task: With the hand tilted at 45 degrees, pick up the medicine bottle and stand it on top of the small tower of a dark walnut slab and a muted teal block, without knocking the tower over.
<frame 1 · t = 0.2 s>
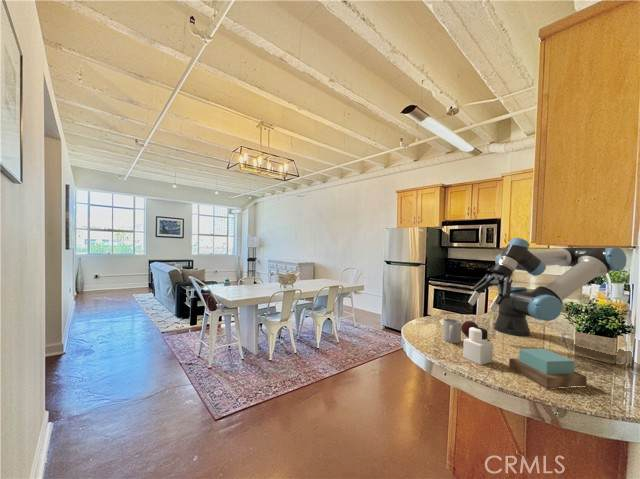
hand: (480, 306, 123), 16 cm above the worktop, tool tilted 35°, fingers open, 13 cm apart
tower top block: (545, 366, 91), point 3 cm above the worktop, touching tower base slab
tower base slab: (545, 379, 91), on the worktop, touching tower top block
cup: (451, 342, 122), on the worktop
dark red textured ball: (469, 336, 131), on the worktop
medicine bottle: (477, 360, 103), on the worktop
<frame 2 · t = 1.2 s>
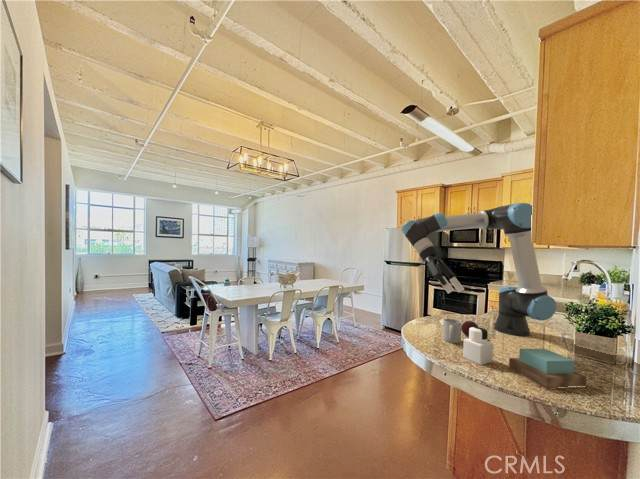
hand: (456, 291, 111), 24 cm above the worktop, tool tilted 40°, fingers open, 13 cm apart
nothing on the worktop moved.
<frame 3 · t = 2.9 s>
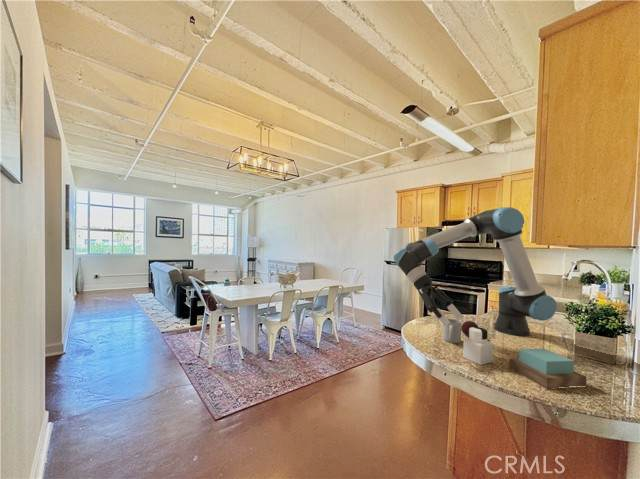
hand: (454, 321, 109), 13 cm above the worktop, tool tilted 45°, fingers open, 13 cm apart
nothing on the worktop moved.
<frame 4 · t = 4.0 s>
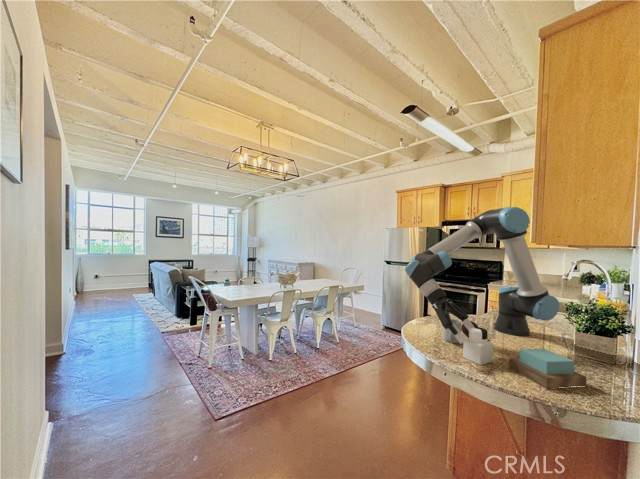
hand: (470, 338, 105), 8 cm above the worktop, tool tilted 45°, fingers open, 13 cm apart
nothing on the worktop moved.
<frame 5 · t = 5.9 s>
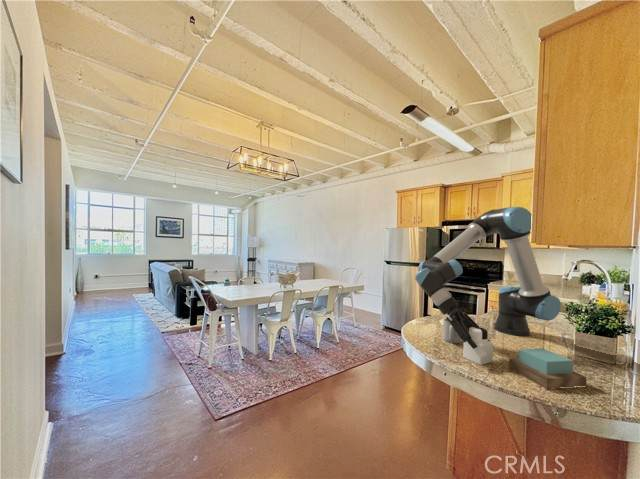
hand: (487, 352, 101), 4 cm above the worktop, tool tilted 45°, fingers closed on medicine bottle, 9 cm apart
medicine bottle: (477, 360, 103), on the worktop, touching gripper
everything else where it was.
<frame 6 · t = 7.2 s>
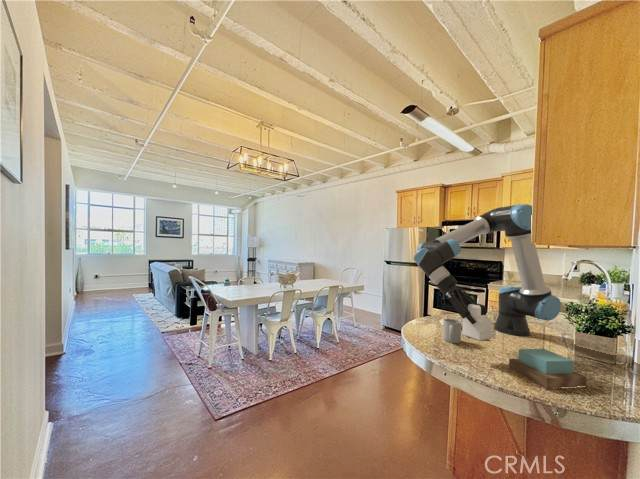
hand: (486, 328, 101), 13 cm above the worktop, tool tilted 45°, fingers closed on medicine bottle, 9 cm apart
medicine bottle: (476, 336, 103), point 9 cm above the worktop, touching gripper
everything else where it was.
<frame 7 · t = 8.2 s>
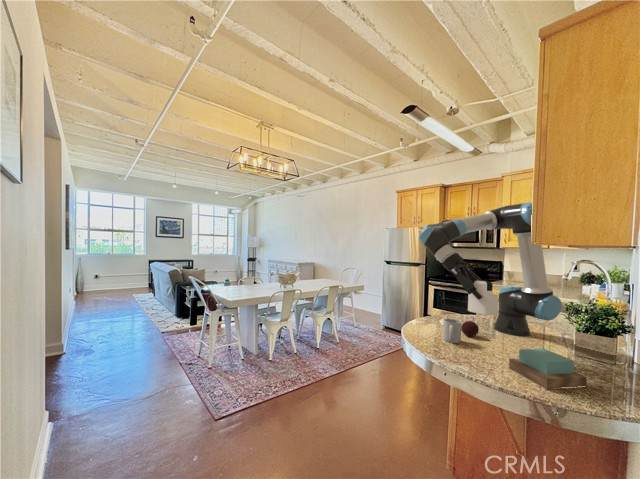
hand: (492, 304, 101), 22 cm above the worktop, tool tilted 45°, fingers closed on medicine bottle, 9 cm apart
medicine bottle: (482, 313, 103), point 18 cm above the worktop, touching gripper
everything else where it was.
when the fingers open (13 cm above the worktop, at t = 13.0 s): medicine bottle drops 2 cm, point 7 cm above the worktop.
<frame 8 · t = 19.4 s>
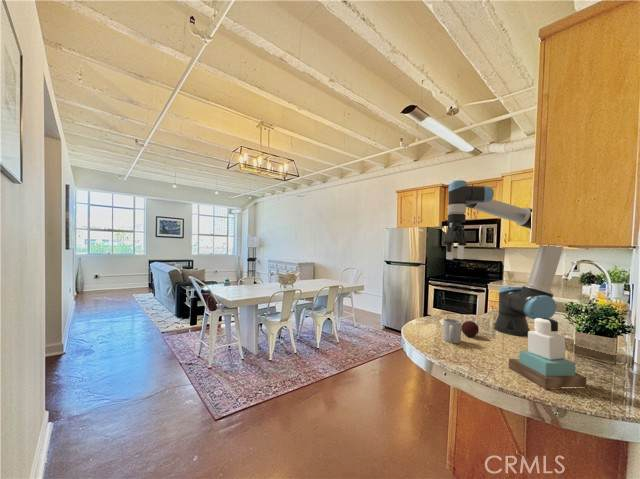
hand: (455, 259, 128), 37 cm above the worktop, tool pointing down, fingers open, 13 cm apart
tower top block: (545, 368, 90), point 3 cm above the worktop, touching tower base slab
medicine bottle: (546, 355, 91), point 7 cm above the worktop
everything else where it was.
at the end: medicine bottle inside the target area on the tower top block (1.2 cm from its centre), point 4.0 cm above the tower top block's base; medicine bottle tilted 2°; tower top block 1.2 cm off-centre on the tower base slab, point 4.0 cm above the tower base slab's base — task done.
